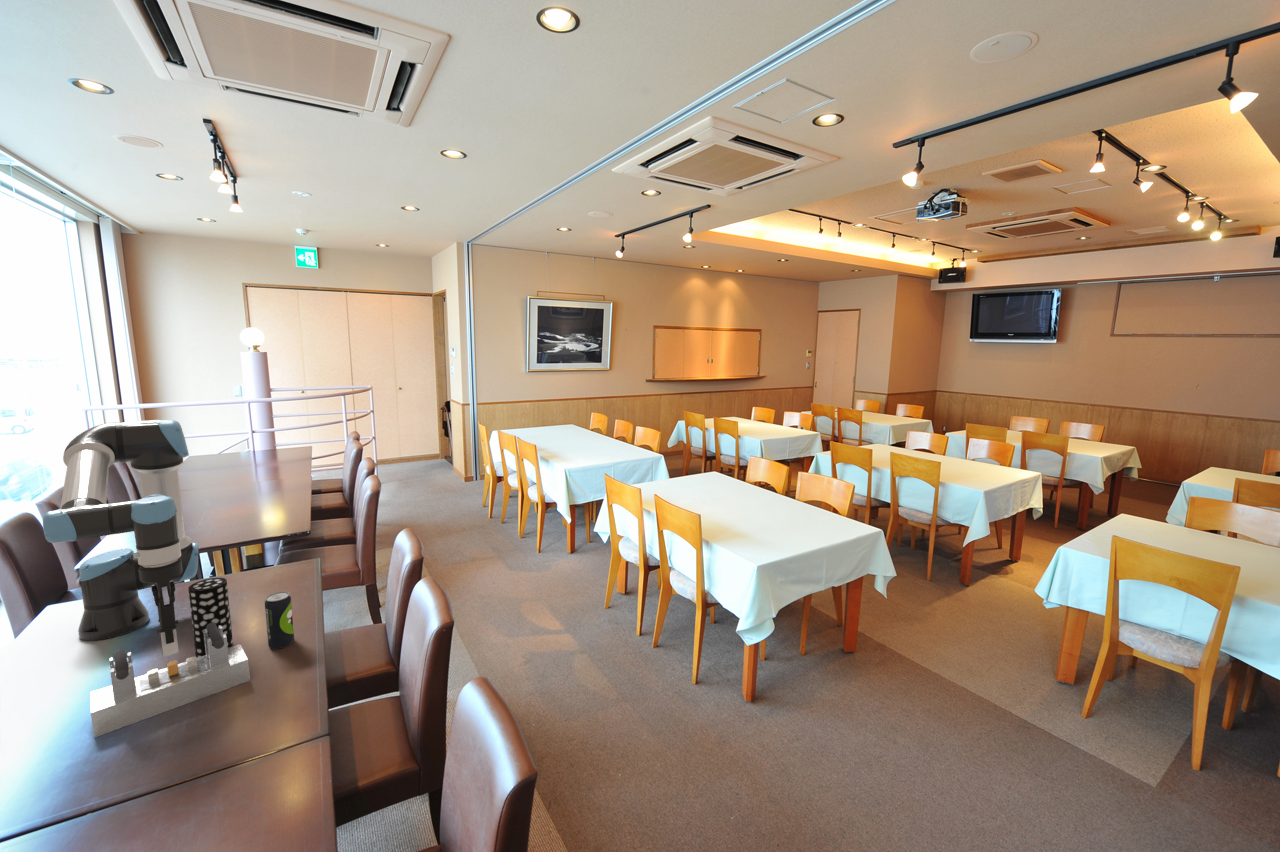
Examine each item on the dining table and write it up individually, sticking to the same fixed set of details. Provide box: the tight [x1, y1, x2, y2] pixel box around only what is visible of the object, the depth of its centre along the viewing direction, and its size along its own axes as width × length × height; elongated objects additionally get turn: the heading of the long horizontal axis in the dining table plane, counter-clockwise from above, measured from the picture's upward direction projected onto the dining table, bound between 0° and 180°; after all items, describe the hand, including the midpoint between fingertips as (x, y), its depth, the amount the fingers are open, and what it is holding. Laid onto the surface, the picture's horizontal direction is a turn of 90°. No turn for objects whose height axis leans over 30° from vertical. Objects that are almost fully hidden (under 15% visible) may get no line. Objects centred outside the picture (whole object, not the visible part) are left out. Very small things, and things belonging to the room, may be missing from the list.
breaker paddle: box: [166, 659, 179, 676], centre depth 126 cm, size 2×2×3 cm
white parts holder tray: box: [89, 626, 251, 738], centre depth 126 cm, size 10×28×13 cm, turn 137°
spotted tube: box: [188, 577, 234, 658], centre depth 146 cm, size 8×8×20 cm
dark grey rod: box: [206, 623, 224, 649], centre depth 131 cm, size 13×2×2 cm, turn 47°
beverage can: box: [264, 591, 295, 650], centre depth 149 cm, size 6×6×15 cm
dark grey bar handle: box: [113, 648, 129, 680], centre depth 119 cm, size 13×2×2 cm, turn 47°
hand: (170, 653), depth 125 cm, fingers closed
